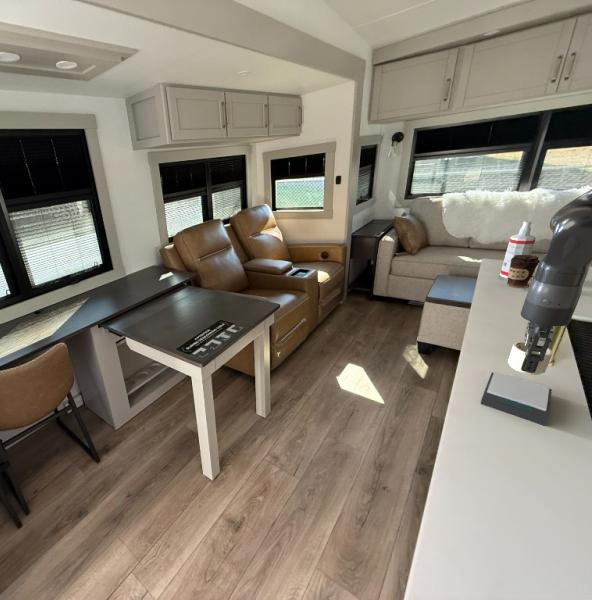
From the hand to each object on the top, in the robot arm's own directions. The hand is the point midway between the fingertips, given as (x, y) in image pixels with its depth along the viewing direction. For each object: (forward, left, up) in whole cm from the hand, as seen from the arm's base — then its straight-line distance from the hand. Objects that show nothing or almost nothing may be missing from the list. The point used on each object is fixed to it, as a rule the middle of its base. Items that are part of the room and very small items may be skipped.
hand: (527, 363), depth 75 cm
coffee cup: (-76, -44, -10) cm, 88 cm away
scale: (0, 0, -10) cm, 10 cm away
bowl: (0, 0, -1) cm, 1 cm away
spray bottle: (-86, -52, -10) cm, 101 cm away
